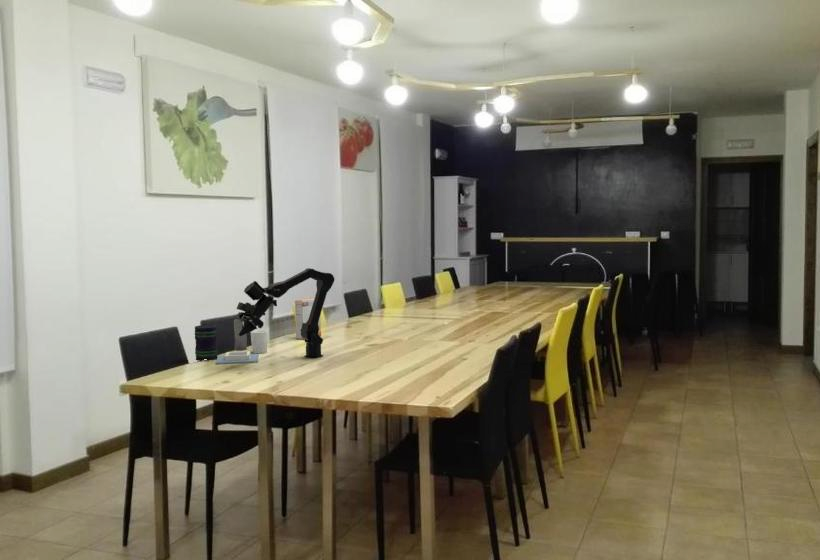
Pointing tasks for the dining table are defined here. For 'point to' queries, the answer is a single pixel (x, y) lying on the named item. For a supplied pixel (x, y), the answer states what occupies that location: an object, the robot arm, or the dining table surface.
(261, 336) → the white cup
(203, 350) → the storage jar
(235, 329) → the shaft
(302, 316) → the cracker box
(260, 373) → the dining table surface
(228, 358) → the blue square board
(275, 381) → the dining table surface
